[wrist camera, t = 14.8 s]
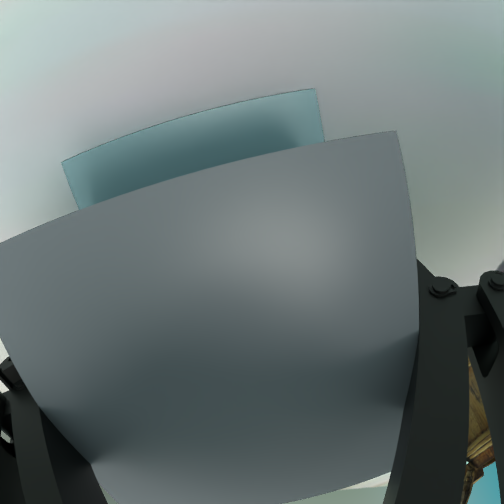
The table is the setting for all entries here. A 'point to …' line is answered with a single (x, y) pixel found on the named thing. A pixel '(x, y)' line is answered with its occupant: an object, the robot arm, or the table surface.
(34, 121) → the table surface
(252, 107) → the tape square
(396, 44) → the table surface
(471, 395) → the wooden mug
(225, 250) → the matte grey cube
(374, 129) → the table surface
